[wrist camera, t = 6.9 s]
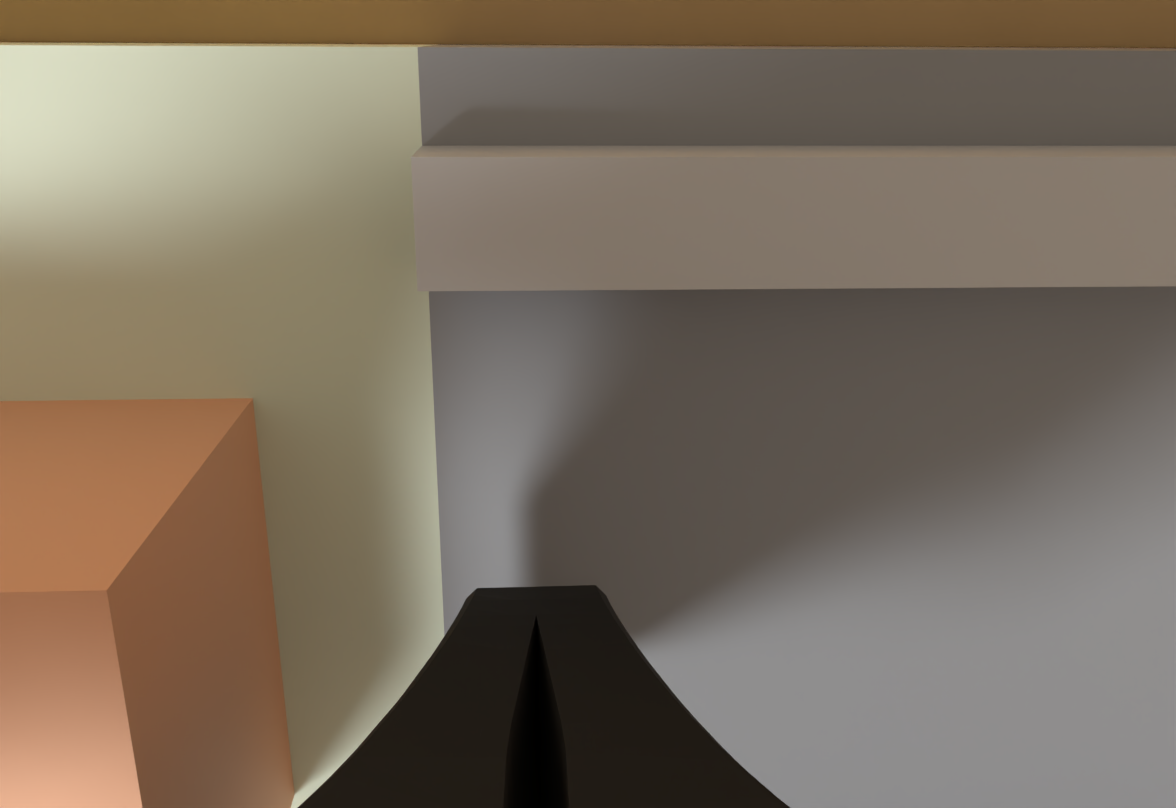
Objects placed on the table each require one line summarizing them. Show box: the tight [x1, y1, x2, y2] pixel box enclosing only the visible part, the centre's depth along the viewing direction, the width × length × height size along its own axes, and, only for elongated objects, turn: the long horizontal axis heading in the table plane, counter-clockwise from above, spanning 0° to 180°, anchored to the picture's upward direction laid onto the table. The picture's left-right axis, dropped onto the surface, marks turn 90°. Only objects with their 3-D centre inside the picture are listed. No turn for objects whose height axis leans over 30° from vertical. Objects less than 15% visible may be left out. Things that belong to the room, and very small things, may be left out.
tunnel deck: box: [0, 42, 1176, 808], centre depth 13 cm, size 12×30×4 cm, turn 90°
